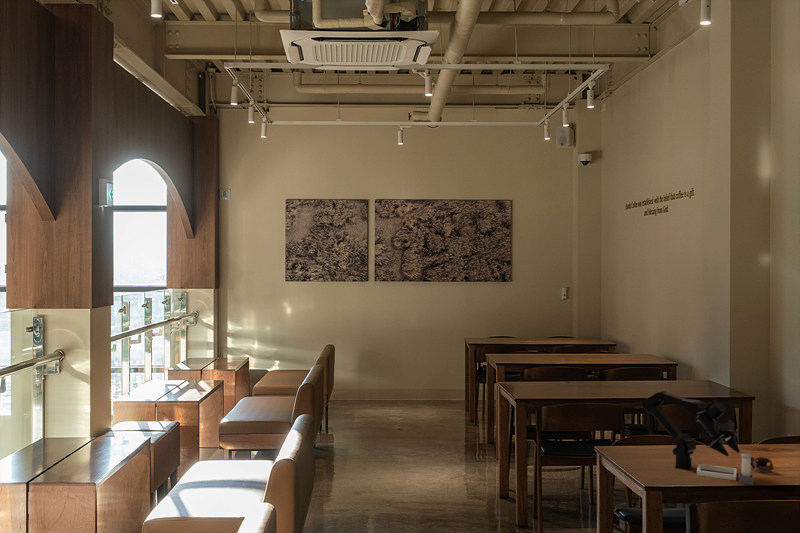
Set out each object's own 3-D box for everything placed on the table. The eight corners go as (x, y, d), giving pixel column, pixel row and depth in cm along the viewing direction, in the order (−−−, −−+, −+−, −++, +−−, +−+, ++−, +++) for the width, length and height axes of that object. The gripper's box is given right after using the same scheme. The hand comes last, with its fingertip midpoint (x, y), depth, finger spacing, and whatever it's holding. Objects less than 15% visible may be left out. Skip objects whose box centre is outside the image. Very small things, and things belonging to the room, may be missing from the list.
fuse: (741, 482, 297) (741, 454, 297) (741, 480, 300) (741, 452, 300) (750, 484, 295) (750, 455, 295) (750, 481, 298) (751, 453, 298)
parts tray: (696, 477, 308) (696, 470, 308) (698, 470, 319) (698, 463, 319) (735, 482, 300) (736, 475, 300) (736, 475, 311) (736, 468, 311)
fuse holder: (738, 485, 296) (738, 476, 296) (738, 481, 302) (739, 472, 301) (753, 487, 294) (753, 478, 294) (753, 483, 299) (753, 474, 299)
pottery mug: (777, 473, 315) (778, 460, 311) (766, 485, 311) (767, 472, 307) (751, 461, 324) (752, 448, 321) (741, 472, 320) (741, 460, 316)
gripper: (710, 417, 301) (734, 447, 292) (733, 411, 312) (757, 440, 303) (694, 431, 308) (717, 461, 299) (716, 425, 318) (739, 454, 309)
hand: (733, 454), depth 302 cm, fingers open, 9 cm apart
